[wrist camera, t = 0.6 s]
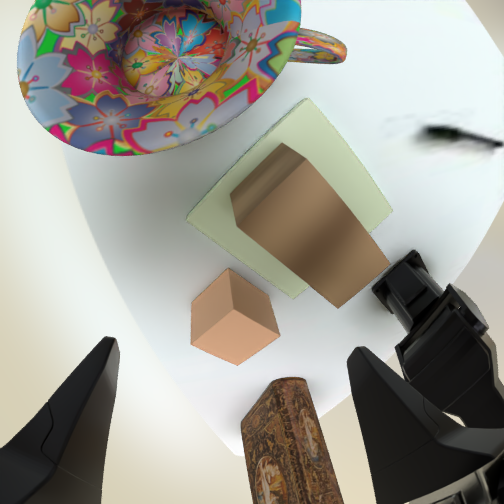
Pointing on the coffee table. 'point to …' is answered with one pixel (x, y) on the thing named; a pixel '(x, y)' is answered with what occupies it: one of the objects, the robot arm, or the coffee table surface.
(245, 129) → the coffee table surface
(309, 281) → the walnut brick
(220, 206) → the baseplate
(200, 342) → the cube
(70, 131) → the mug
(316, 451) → the book
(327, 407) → the coffee table surface
